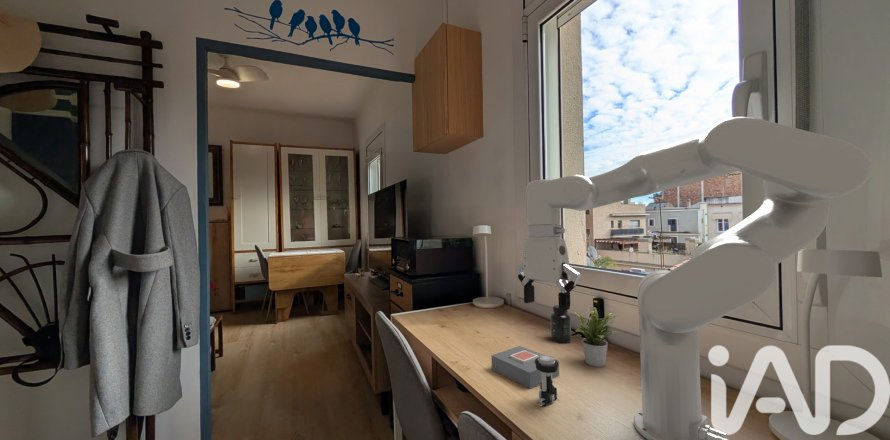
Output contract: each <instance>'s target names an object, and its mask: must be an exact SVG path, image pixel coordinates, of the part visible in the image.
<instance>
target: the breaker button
mask: <svg viewBox="0 0 890 440" xmlns="http://www.w3.org/2000/svg"><path fill="white" fill-rule="evenodd" d="M537 358H538V355H535V354H533V353H530V352H528V351H525V350H524V351H521V352H518V353H515V354H513V355H510V359H512V360H514V361H517V362H519V363H521V364H524V365H525V364H528V363H530V362H533V361H535V359H537Z"/></svg>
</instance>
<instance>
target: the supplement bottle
mask: <svg viewBox="0 0 890 440" xmlns="http://www.w3.org/2000/svg"><path fill="white" fill-rule="evenodd" d="M552 308H553V309H552V312H553V313H551V315H550V339H551V341H553V342H555V343H558V344H568V343H571V342H572V318H571V316H570V315H569V314H568V312H569V311H568V310H565V311H560V310H559V304H555V305H553V306H552Z"/></svg>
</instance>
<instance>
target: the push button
mask: <svg viewBox="0 0 890 440" xmlns="http://www.w3.org/2000/svg"><path fill="white" fill-rule="evenodd" d="M554 359H555V357H554V356H553V355H549V354H543V355H540V356H539V357H538V358H537V359H535V364H536V369H537V370H539V371H540V372H541V380H542V383H541V384H540V385H539V387H540V388H539V389H540V390H539V391H538V400H537V402H539V403H538V404H537V405H538V406H539V407H542V406H548V405H549V404H550V403H552V404H554V403H555V400H557V399H558V391H557V387H555V385H554V384H553V378H552V373H554V372H556V371H557V367H558V362H557V361H556V360H557V359H556V360H554Z"/></svg>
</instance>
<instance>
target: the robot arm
mask: <svg viewBox="0 0 890 440" xmlns="http://www.w3.org/2000/svg"><path fill="white" fill-rule="evenodd" d="M871 171H872V161H871V159H870V157H869V156H868V155H867V153H866V152H865V151H864V150H862V149H861V148H860V147H859V146H857V145H855V144H853V143H851V142H848V141H846V140H843V139H839V138H835V137H832V136H829V135H825V134H821V133H816V132H812V131H808V130H804V129H800V128H797V127H793V126H790V125H785V124H782V123H778V122H774V121H770V120H765V119H762V118H757V117H749V116H735V117H734V116H733V117H729V118H726V119H723V120H721V121H719V122H717V123H716V124H714V125H713V126H712V127H711V128H710V129H709V130H707V132H705V133H702V134H699V135H696V136H693V137H689V138H686V139H682V140H680V141H677V142H673V143H669V144H667V145H664V146H663V145H662V146H661V147H657V148H654V149H651V150H647V151H644V152H641V153H640V154H638V155H636V156H635V157H633V158H632V159H630V160H629V161H627V162H626V163H624V164H622V165H621V166H619V167H617V168H614V169H613V170H609V171H606V172H604V173H600V174H597V175H594V176H590V177H586V176H584V175H582V174H572V175H567V176H563V177H558V178H553V179H537V180H535V179H534V180H531V181H529V182H528V183H527V184H526V189H525V190H526V191H525V193H526V194H525V195H526V199H525V200H526V221H527V222H526V224H527V227H526V229H527V238H525V243H524V248H523V249H524V250H523V262H522V263H520V264H518V265H517V266H515V268H514V270H515V272H516V275H517V278H518V280H519V281H520V283H521V284H520V285H521V286H522V287H523V300H524V301H523V302H524V304H531V303H534V302H535V299H536V297H535V285H534V282H535V281H536V282H542V283H543V282H544V283H548V284H549V283H550V284H555V285H556V287H557V288H558V290H559V291H560V292H558V295H557V297H558V305H559V310H560V311H565V310H567V311H568V310H570V308H571V292H573V290H574V289H575V288H576V286H577V285H578V282H579V280H580V278H581V277H582V275H581V273H580V272H578V271H577V270H575V269H574V268H573V267H571V266H570V259H569V254H568V253H569V252H568V248H567V243H566V239H565V238H562V234H565V233H566V232H565V231H566V229H565V228H564V227H562V225H561V209H568V210H569V209H570V210H575V211H578V212H581V211H589V210H592V209H595V208H597V209H598V208H600V207H604V206H607V205H608V206H609V205H612V204H615V203H619V202H623V201H627V200H630V199H634V198H640V197H645V196H649V195H652V194H656V193H661V192H663V191H667V190H670V189H676V188H679V187H682V186H686V185H690V184H694V183H699V182H703V181H707V180H711V179H714V178H718V177H722V176H725V175H726V176H727V175H730V174H733V173H735V172H740V173H743V174H745V175H748V176H751V177H754V178H757V179H760V180H763V182H762V183H763V189H764V197H763V202H762V204H761V205H760V206H759V208H758V209H756V211H754V212H753V213H751V214H750V215H748V216H747V217H746V218H744V219H743V220H741V221H739V222H738V223H737V224H735V225H733V226H731V227H729V228H728V229H727V230H724V231H723V232H721V233H719V234H718V235H716V236H714V237H712V238H710V239H709V240H707V241H705V242H703V243H701V244H700V245H698V246H697V247H696V248H694V250H693V252H691V255H690V258H689V260H687V261H685V262H684V263H682V264H680V265H679V266H677V267H675V268H674V269H672V270H667V269H660V270H659V269H657V270H654V271H651V272H649V273H647V274H646V275H645V276H643V278H642V279H641V280H640V281H639V284H638V287H637V295H636V296H637V306H638V307H637V308H638V321H639V323H638V325H639V346H640V347H639V353H640V355H639V358H640V382H641V383H640V384H641V386H640V387H641V406H642V407H641V409H642V410H640V411H637V412H636V413H635V414H634V416H633V424H634V427H635V429H636V431H637V432H638V433H639V434H640V435H641V436H642V437H643V438H645V440H729V439H728V433H727V432H724V431H722V430H720V429H716V428H713V427H712V426H711V425H710V424H708V419H709V418H708V416H706V415H704V414H702V395H701V394H702V393H701V389H702V388H701V372H700V371H701V370H700V369H701V368H700V344H699V341H700V340H699V330H698V329H700V328H703V327H705V326H707V325H708V324H711V323H713V322H715V321H716V320H719V319H721V318H723V317H725V316H727V315H729V314H731V313H732V312H735V311H736V310H739V309H740V308H742V307H745V306H746V305H749V304H750V303H751V302H752V303H753V301H755V300H757V299H759V298H760V297H762V296H763V295H764V294H766V293H767V291H769V289H770V288H771V287H772V285H774V282H775V280H776V275H777V267H776V266H777V265H778V264H780V263H782V262H783V261H786V260H787V259H788V258H790V257H792V256H793V255H795V254H797V253H799V252H800V251H802V250H803V249H805V248H806V247H808V246H809V245H811V244H812V243H813V242H814V241H815V240H816V239H818V237H820V235H821V234H822V233H823V231H824V229H825V227H826V226H827V222H828V219H829V215H830V211H831V199H836V198H839V197H843V196H846V195H849V194H851V193H853V192H855V191H856V190H858V189H859V188H861V187H862V186H863V185H864V184H865V183H866V182H867V181H868V179H869V178H870V175H871Z"/></svg>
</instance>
